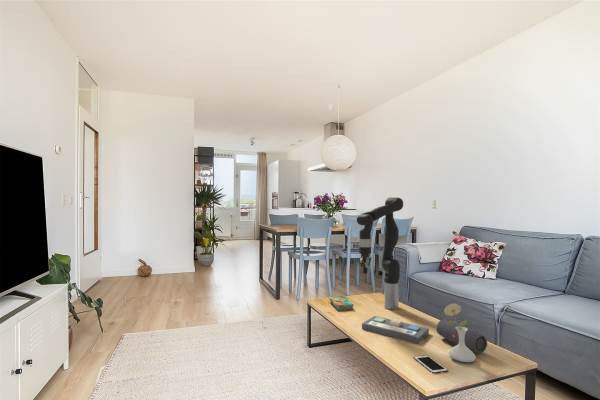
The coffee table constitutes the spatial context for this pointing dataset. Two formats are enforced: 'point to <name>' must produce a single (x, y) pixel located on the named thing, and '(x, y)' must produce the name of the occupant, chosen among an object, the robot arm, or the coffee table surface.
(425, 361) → the cell phone
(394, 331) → the button board
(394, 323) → the button sand
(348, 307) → the puzzle game
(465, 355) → the flower in vase
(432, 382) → the coffee table surface
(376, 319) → the button sage
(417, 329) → the button blue
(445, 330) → the bluetooth speaker
